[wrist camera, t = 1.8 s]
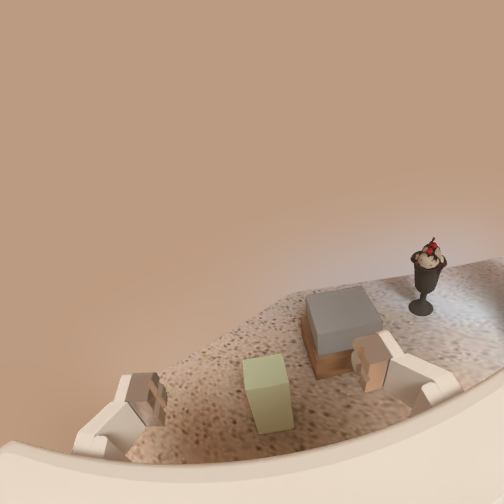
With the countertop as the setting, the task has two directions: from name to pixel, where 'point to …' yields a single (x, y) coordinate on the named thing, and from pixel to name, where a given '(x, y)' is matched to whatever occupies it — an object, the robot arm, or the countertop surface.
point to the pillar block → (268, 393)
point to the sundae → (426, 276)
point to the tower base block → (325, 356)
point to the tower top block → (341, 318)
